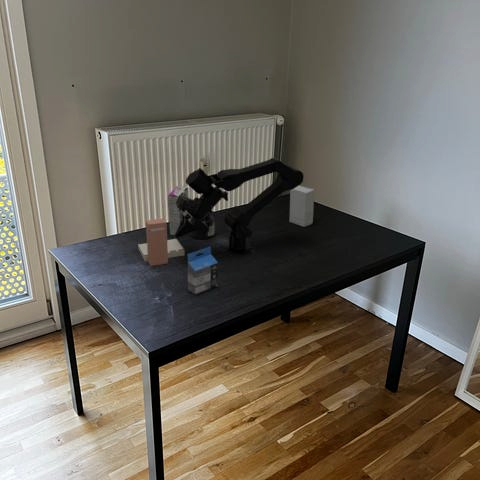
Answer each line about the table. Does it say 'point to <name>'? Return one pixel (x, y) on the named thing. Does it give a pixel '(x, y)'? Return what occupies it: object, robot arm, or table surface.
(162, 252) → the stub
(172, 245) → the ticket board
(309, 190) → the skincare box
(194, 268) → the label tape cartridge
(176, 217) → the candy bar box
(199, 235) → the ink bottle
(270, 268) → the table surface
